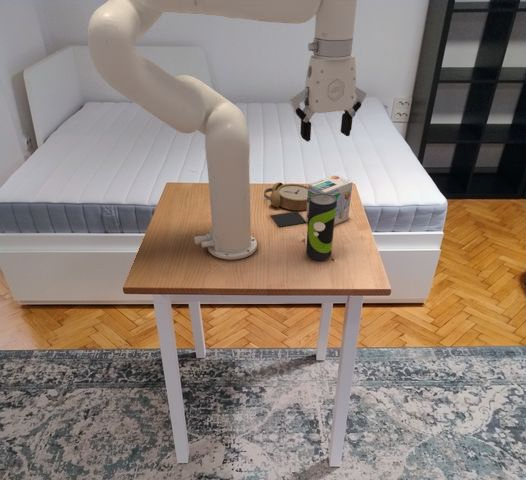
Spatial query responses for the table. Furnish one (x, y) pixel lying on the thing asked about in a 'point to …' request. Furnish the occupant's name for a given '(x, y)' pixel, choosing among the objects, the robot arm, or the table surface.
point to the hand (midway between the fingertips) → (325, 136)
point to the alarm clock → (288, 196)
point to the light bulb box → (336, 188)
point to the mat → (288, 219)
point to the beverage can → (320, 226)
